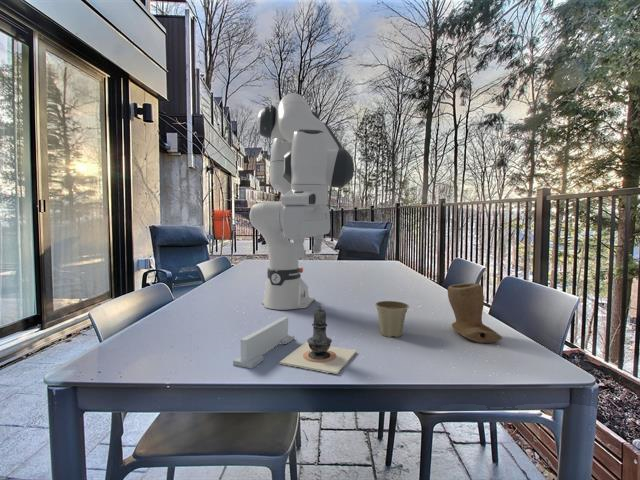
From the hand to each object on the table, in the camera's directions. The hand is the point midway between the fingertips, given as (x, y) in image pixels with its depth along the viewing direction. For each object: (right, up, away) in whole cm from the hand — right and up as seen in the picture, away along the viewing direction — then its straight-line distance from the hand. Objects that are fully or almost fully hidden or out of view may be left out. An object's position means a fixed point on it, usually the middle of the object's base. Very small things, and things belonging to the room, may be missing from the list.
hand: (309, 255), depth 88 cm
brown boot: (+46, -24, +16) cm, 54 cm away
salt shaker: (+3, -24, -1) cm, 24 cm away
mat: (+3, -25, -2) cm, 25 cm away
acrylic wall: (-11, -24, +3) cm, 27 cm away
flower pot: (+23, -24, +17) cm, 37 cm away
